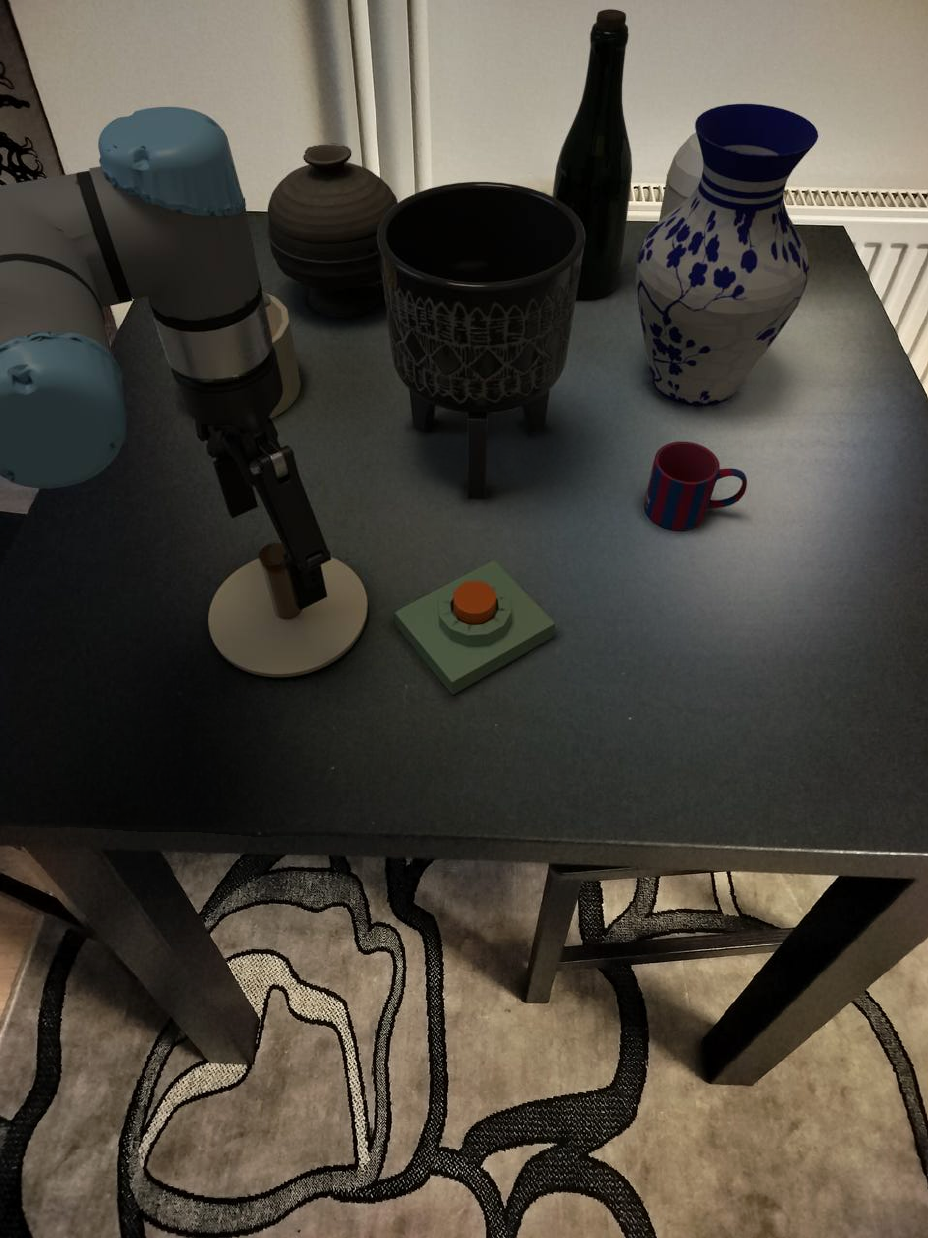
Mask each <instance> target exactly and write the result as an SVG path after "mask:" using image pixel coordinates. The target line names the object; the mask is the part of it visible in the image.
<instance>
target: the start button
mask: <svg viewBox="0 0 928 1238" xmlns="http://www.w3.org/2000/svg"><path fill="white" fill-rule="evenodd" d="M453 605H454V613H455V615H456V616H457V618H458V619H459V620H461V621H462V622H464V623H467V624H472V625H478V624H482V623H485V622H487V621H489V620H490V619H491V618H492V617H493V615H494V613H495V610H496V594H495V592H494V590H493V589H492V587H490V586H489V585H488V584H486V583H484V582H480V581H469V582H466V583H463V584H462V585H460V586H459V587H458V588H457V589H456V590H455V592H454V596H453Z"/></svg>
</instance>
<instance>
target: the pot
mask: <svg viewBox="0 0 928 1238" xmlns="http://www.w3.org/2000/svg"><path fill="white" fill-rule="evenodd" d="M351 157H352V150H351V148H350V147H348V146H347V145H344V144H343V145H337V144H336V143H334V142H331V144H318V145H313V146H309V147H307V148H306V149H305V150H304V154H303V156H302V159H303V161H304V162H305V164H306V165H303V166H300V167H298V168H296V169H294V170H293V171H291V172H289V173H288V174H287V175H286V176H285V177H284V178H282V180H280V182H279V183H278V184H277V185H276V187H275V188H274V189H273V191H272V193H271V196H270V198H269V201H268V205H267V218H268V219H267V221H268V223H267V227H266V234H267V239H268V242H269V245H270V247H269V248H270V252H271V255H272V256H273V258H274V260H275V262H276V264H277V265H276V266H277V267H278V268H279V270H280V271H281V272H282V273H283V274H284V275H285V276H286V277H288V278H291V280H293V281H294V282H296V283H299V284H302V285H303V286H307V287H310V289H309V290H308V302H309V304H310V306H311V307H312V308H313V309H314V310H315V311H316V312H317V313H320V314H322V315H324V316H328V317H334V318H351V317H356V316H360V315H363V314H366V313H367V312H369V311H371V310H373V309H374V308H375V307H377V305H378V304H379V303H380V301H381V298H382V292H381V288H380V286H379V283H383V282H382V275H381V267H380V260H379V253H378V245H377V230H378V227H379V224H380V222H381V220H382V218H383V217H384V216H385V214H386V213H387V212H388V211H389V210H390V209H391V208H392V207H393V206H395V205H396V204H397V203H399V202H398V198H397V197H396V195H395V193H394V192H393V190H392V188H391V187H390V186H389V185H388V184H387V182H385V181H384V180H383V179H382V178H381V177H380V176H378V175H377V174H376V173H374V171H372V170H370V169H368V168H366V167H364V166H361V165H358V164H355V163H352V162H349V160H350V159H351Z"/></svg>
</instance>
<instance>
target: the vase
mask: <svg viewBox="0 0 928 1238" xmlns="http://www.w3.org/2000/svg"><path fill="white" fill-rule="evenodd" d="M694 128H695V129H694V130H695V133H697V137H698V141H699V144H700V148H701V153H702V157H703V172H702V176H701V180H700V183H699V185H698V187H697V188H696V189H695V191H694V192H693V193H692V195H691V196H690V197H689V198H688V199H687V200H686V201H684V202H683V203H682V204H680V205H679V206H678V207H676V208H675V209H674V210H672V211H671V212H670V213H668V214H667V215H666V216H664V217H663V218H662V219H661V220H660V221H659V220H658V222H657V223H655V225H654V226H653V227H652V228H651V229H650V230H649V232H647V235H646V236H645V238H644V240H643V241H642V244H641V247H640V249H639V251H638V254H637V261H636V272H635V286H636V293H637V294H636V295H637V303H638V312H639V316H640V317H639V318H640V324H641V331H642V335H643V341H644V346H645V347H644V348H645V353H646V359H647V363H648V369H649V378H650V383H651V384H652V386H653V388H654V389H655V390H656V391H657V393H659V394H660V395H661V396H663V398H666V399H668V400H669V401H672V402H674V403H677V404H679V405H684V406H688V407H697V408H698V407H699V408H704V407H713V406H717V405H720V404H723V403H725V402H726V401H728V400H729V399H731V398H732V397H733V396H734V394H735V393H736V392H737V390H738V389H739V387H740V386H741V384H742V383H743V382H744V380H745V379H746V378H747V377H748V375H749V374H750V373H751V371H752V370H753V369H754V367H755V366H756V365H757V364H758V362H759V361H760V360H761V358H762V357H763V356H764V355H765V353H766V352H767V350H768V349H769V347H770V346H772V344H773V342H774V341H775V340H776V339H777V337H778V335H779V334H780V333H781V332H782V330H783V329H784V327H785V326H786V324H787V323H788V322H789V320H790V318H791V317H792V315H793V314H794V312H795V311H796V309H797V308H798V306H799V304H800V302H801V300H802V297H803V295H804V293H805V290H806V287H807V285H808V281H809V275H810V261H809V255H808V249H807V247H806V244H805V243H804V240H803V239H802V237H801V234H800V232H799V231H798V229H797V227H796V226H795V224H794V223H793V221H792V220H791V217H790V216H789V213H788V211H787V208H786V204H785V190H786V186H787V182H788V179H789V178H790V176H791V174H792V172H793V171H794V169H796V167H797V166H798V164H799V163H800V162H801V161H802V160H803V159H804V157H805V156H806V155H807V154H808V152H810V151H811V149H812V148H813V147H814V146H815V145H816V144H817V142H818V139H819V132H818V129H817V128H816V126H815V125H814V124H813V123H812V122H811V121H810V120H808V119H807V118H806V117H804V116H802V115H800V114H798V113H796V112H793V111H790V110H788V109H784V108H781V107H777V106H772V105H766V104H765V105H764V104H760V103H759V104H757V103H732V104H731V103H730V104H724V105H719V106H715V107H712V108H709V109H707V110H705V111H704V112H702V113H701V114H699V115H698V116H697V118H696V119H695V123H694Z"/></svg>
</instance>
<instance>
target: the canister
mask: <svg viewBox="0 0 928 1238" xmlns="http://www.w3.org/2000/svg"><path fill="white" fill-rule="evenodd" d="M262 293H266V294H267V295H268V296H269V297H270V301H271V303H270V305H269V306H267V307H265V308H266V313H267V317H268V321H269V326H270V330H271V335H272V343H273V347H274V349H275V351H276V355H277V360H278V364H279V369H280V374H281V379H282V383H283V394H282V397H281V400H280V402H279V403H278V405H277V406H276V408H275V409H274V410H273V411H272V413H271V415H270V416H269V418H270V419H271V420H272V419H273V418H276V417H277V416H280V415H281V414H282V413H284V412H285V411H286V410H288V409H289V408H290V407H291V406H292V405H294V403H295V401H296V400H297V398H298V396H299V394H300V392H301V385H302V384H301V378H300V372H299V366H298V360H297V353H296V349H295V344H294V343H295V342H294V338H293V337H294V336H293V332H292V328H291V327H292V326H291V321H290V316H289V311H288V308H287V307H286V306H285V305H284V304H283V302H282V301H280V300H279V299H278V298H277V297H276V296H274V295H271V294H268V293H267V292H264V291H262Z"/></svg>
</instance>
